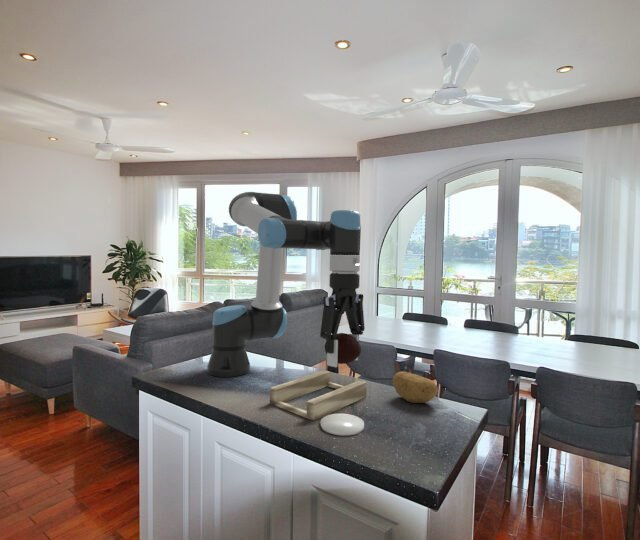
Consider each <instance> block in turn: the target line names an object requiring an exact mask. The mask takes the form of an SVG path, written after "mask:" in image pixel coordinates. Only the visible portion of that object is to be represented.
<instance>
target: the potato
mask: <svg viewBox="0 0 640 540" xmlns="http://www.w3.org/2000/svg"><path fill="white" fill-rule="evenodd" d="M392 377H393V378H392V385H393V387H394V388H395V392H396V393H397V394H398V396H400V397H401V398H403V399H404V400H405V401H407V402H409V403H411V404H413V403H414V404H415V403H416V404H418V403H422V404H423V403H424V404H426V403H428V402H429V401H431V400H433V399H435V397H437V395H438V393H439V387H438V385H437V384H436V383H435V382H434V381H433V380H431V379H429V378H427V377H425V376H421V375H419V374H416V373H412V372H408V371H398V372H397V373H395V374H394V375H393V376H392Z"/></svg>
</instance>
